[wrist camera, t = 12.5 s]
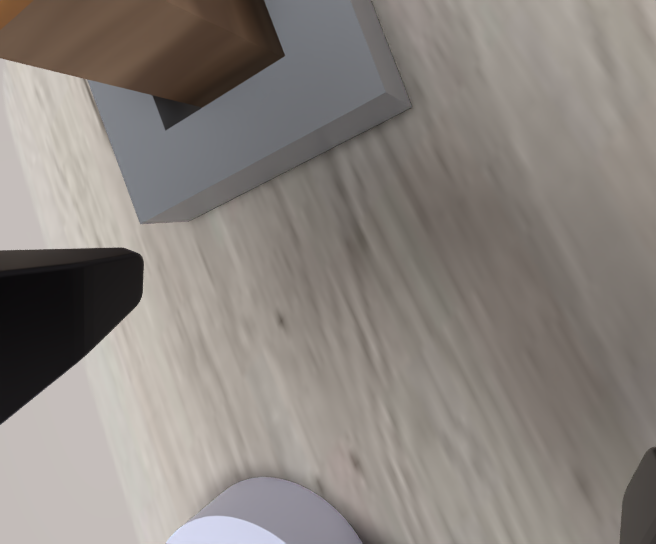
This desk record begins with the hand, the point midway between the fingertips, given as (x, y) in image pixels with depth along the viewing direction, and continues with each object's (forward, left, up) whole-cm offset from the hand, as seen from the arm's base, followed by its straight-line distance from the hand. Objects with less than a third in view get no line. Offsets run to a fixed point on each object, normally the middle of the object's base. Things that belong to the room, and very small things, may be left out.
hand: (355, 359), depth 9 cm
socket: (+13, -2, -11) cm, 17 cm away
